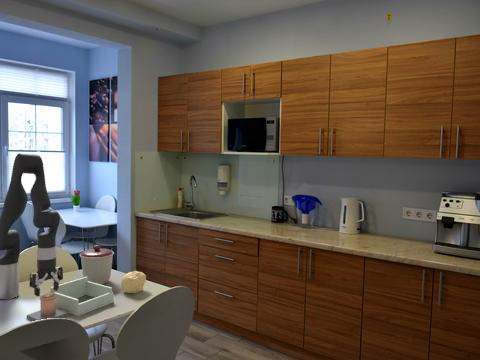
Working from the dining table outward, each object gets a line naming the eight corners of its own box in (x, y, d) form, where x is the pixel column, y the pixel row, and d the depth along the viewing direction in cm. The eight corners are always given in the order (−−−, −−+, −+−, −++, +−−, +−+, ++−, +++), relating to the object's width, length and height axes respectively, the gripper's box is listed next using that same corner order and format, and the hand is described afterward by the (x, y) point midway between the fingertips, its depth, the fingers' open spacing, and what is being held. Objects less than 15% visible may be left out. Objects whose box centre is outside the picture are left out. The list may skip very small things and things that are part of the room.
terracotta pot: (37, 314, 176) (36, 296, 175) (50, 309, 181) (50, 292, 181) (45, 317, 172) (45, 299, 172) (59, 312, 178) (59, 294, 177)
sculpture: (137, 296, 203) (137, 275, 203) (116, 293, 207) (117, 273, 207) (149, 289, 214) (149, 269, 214) (129, 286, 218) (129, 267, 217)
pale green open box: (50, 306, 189) (50, 287, 188) (86, 293, 206) (86, 276, 205) (78, 315, 178) (78, 296, 178) (113, 302, 196) (113, 283, 195)
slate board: (26, 318, 175) (26, 315, 175) (51, 309, 185) (51, 306, 185) (43, 325, 169) (43, 321, 168) (68, 315, 179) (68, 312, 179)
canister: (74, 281, 224) (74, 244, 223) (105, 275, 237) (105, 240, 235) (87, 290, 211) (87, 250, 210) (119, 283, 223) (119, 246, 222)
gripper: (56, 252, 183) (56, 286, 184) (25, 258, 171) (25, 296, 172) (66, 254, 179) (66, 290, 180) (36, 261, 167) (36, 299, 168)
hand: (46, 293), depth 176 cm, fingers open, 8 cm apart
